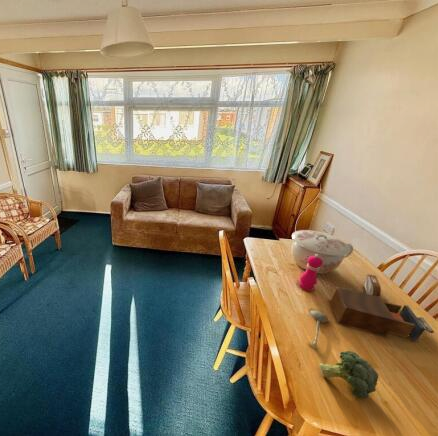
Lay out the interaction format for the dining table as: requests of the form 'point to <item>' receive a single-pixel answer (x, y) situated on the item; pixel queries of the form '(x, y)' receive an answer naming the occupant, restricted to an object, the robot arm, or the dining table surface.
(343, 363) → the vegetable
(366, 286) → the tin
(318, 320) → the soupspoon
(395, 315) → the block
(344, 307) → the cabinet
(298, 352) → the dining table surface
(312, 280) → the pepper mill
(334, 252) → the chamber pot
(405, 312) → the drawer
